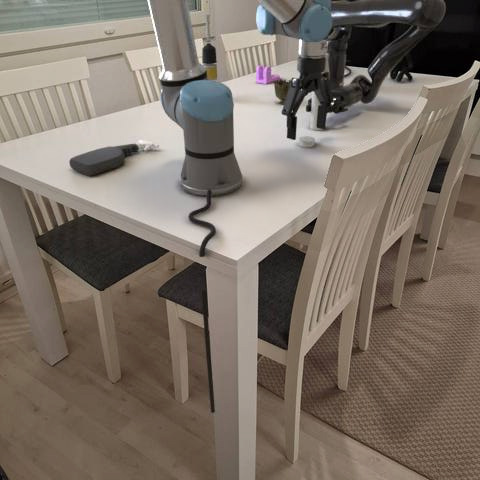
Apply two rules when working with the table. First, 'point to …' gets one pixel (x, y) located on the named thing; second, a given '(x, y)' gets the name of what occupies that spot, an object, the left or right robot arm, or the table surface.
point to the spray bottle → (106, 157)
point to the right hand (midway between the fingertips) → (314, 110)
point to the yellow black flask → (209, 55)
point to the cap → (306, 141)
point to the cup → (282, 90)
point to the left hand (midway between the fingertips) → (306, 133)
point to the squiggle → (404, 70)
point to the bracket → (265, 75)
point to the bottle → (317, 102)
